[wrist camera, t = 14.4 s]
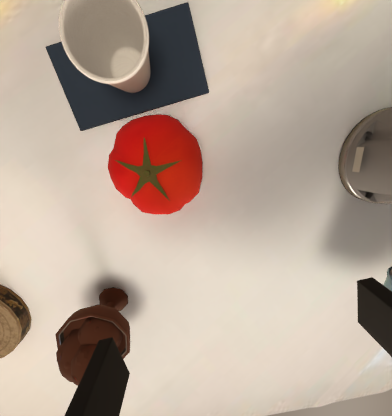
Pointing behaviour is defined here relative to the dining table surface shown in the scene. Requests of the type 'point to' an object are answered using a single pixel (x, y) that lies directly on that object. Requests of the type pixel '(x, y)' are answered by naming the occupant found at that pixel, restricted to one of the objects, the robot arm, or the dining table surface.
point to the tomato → (156, 164)
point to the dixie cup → (107, 41)
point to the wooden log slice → (12, 320)
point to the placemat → (159, 78)
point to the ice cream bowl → (92, 333)
